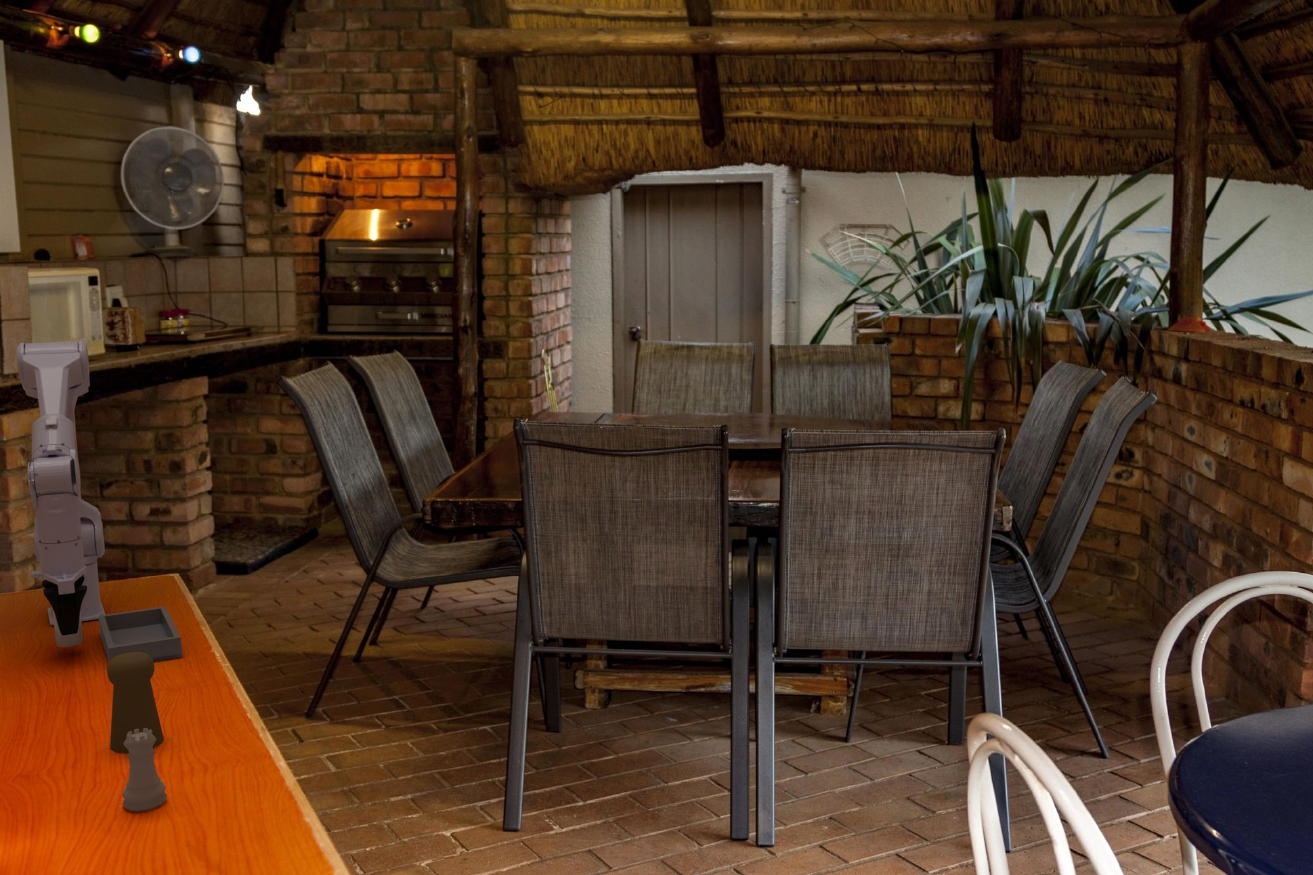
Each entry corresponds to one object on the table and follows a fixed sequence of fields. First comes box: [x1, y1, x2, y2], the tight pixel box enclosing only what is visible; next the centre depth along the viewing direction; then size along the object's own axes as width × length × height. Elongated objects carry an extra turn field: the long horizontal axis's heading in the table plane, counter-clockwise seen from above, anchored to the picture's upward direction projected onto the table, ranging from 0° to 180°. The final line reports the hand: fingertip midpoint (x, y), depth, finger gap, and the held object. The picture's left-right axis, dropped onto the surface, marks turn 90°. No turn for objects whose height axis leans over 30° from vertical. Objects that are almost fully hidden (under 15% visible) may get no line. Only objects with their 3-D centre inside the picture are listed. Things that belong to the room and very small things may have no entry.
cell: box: [53, 610, 84, 648], centre depth 182 cm, size 4×4×7 cm
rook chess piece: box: [121, 728, 168, 813], centre depth 133 cm, size 4×4×8 cm
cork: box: [106, 652, 165, 755], centre depth 149 cm, size 6×6×11 cm
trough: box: [98, 606, 183, 664], centre depth 186 cm, size 18×10×3 cm, turn 28°
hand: (68, 630), depth 182 cm, fingers closed on cell, 4 cm apart
